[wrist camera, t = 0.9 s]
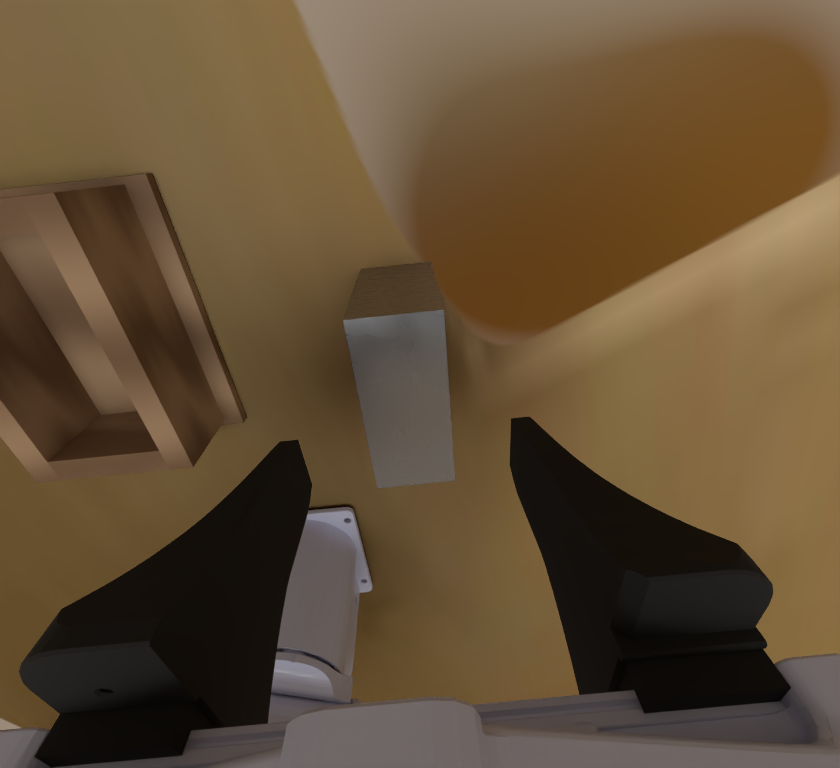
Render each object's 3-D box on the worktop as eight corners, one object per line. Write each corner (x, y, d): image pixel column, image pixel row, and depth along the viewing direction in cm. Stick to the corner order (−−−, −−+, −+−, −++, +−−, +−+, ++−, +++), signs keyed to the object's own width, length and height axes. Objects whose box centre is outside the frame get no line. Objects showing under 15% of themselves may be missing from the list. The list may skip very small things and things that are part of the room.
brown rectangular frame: (246, 417, 24) (216, 469, 20) (82, 434, 24) (20, 489, 20) (152, 173, 17) (79, 179, 13) (-75, 197, 17) (-213, 210, 13)
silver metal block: (441, 397, 24) (455, 480, 18) (383, 403, 24) (377, 488, 18) (430, 261, 20) (443, 309, 14) (360, 268, 20) (343, 320, 14)
